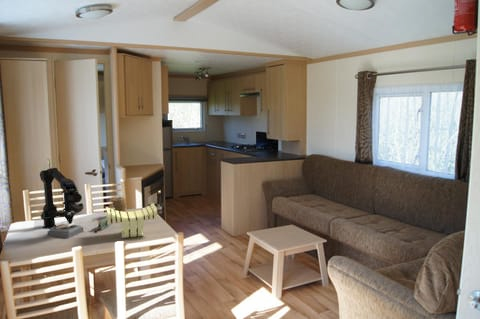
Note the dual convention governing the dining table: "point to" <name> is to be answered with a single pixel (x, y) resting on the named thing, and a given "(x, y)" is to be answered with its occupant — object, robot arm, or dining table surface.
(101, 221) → the handheld radio
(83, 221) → the dining table surface
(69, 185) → the robot arm
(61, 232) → the frame
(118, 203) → the stone cup
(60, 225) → the breaker switch
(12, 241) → the dining table surface
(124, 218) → the slatted curved stool
